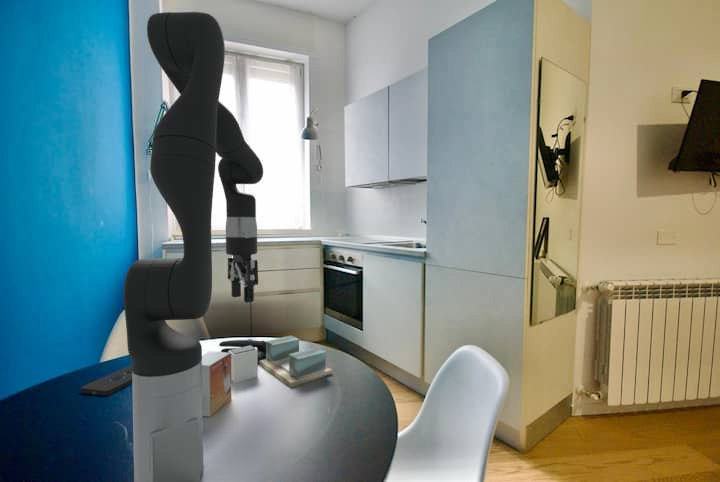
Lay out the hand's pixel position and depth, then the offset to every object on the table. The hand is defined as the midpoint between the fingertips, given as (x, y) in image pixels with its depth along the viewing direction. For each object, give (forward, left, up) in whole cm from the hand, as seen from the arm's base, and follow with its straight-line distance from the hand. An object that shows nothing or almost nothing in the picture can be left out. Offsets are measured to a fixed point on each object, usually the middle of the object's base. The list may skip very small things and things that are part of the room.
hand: (242, 299), depth 88 cm
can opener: (+14, -6, -20) cm, 26 cm away
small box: (-10, +11, -20) cm, 25 cm away
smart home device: (+19, +22, -21) cm, 36 cm away
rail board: (-4, -12, -20) cm, 24 cm away
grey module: (0, 0, -20) cm, 20 cm away
